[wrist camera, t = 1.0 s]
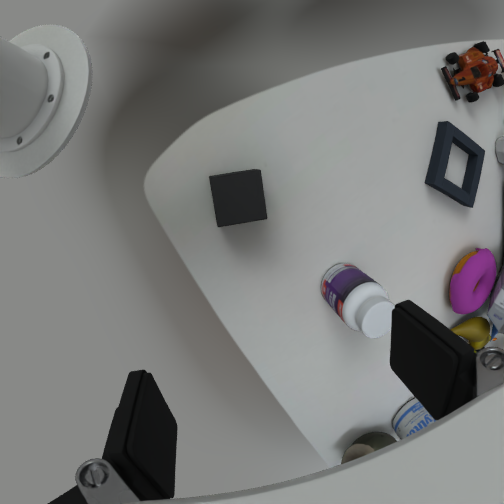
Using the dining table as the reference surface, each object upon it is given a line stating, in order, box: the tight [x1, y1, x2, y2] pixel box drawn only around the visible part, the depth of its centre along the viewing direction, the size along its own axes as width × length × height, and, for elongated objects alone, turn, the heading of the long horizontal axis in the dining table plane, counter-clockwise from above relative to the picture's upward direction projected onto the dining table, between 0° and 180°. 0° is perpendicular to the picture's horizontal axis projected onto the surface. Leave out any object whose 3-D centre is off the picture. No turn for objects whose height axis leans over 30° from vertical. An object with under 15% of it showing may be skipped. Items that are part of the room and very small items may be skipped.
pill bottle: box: [321, 263, 395, 338], centre depth 31 cm, size 5×5×10 cm
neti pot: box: [450, 317, 497, 350], centre depth 40 cm, size 4×15×6 cm
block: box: [209, 169, 267, 227], centre depth 29 cm, size 5×5×4 cm
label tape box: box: [487, 265, 504, 342], centre depth 35 cm, size 9×4×12 cm
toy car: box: [441, 41, 504, 102], centre depth 28 cm, size 8×16×4 cm, turn 122°
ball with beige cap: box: [341, 432, 397, 464], centre depth 41 cm, size 10×12×10 cm
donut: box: [449, 248, 496, 314], centre depth 36 cm, size 10×10×5 cm
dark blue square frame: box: [425, 121, 485, 208], centre depth 33 cm, size 9×9×2 cm
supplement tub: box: [393, 398, 438, 440], centre depth 39 cm, size 10×10×15 cm
